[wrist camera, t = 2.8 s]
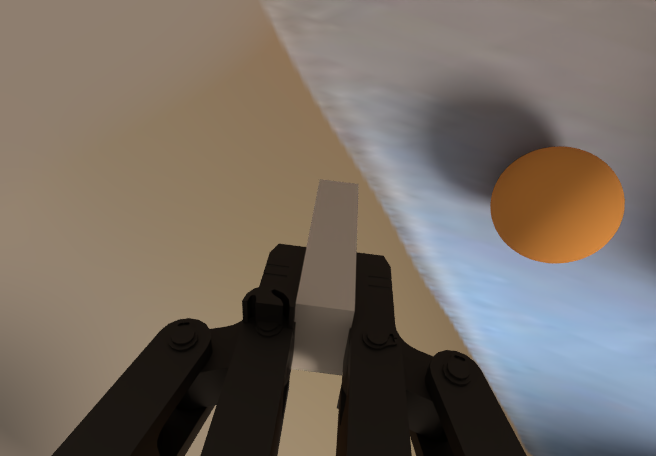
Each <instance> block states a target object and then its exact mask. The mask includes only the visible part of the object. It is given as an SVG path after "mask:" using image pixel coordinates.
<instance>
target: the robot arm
mask: <svg viewBox="0 0 656 456" xmlns="http://www.w3.org/2000/svg"><path fill="white" fill-rule="evenodd" d="M357 214H358V184H353V183H344V182H336V181H329V180H320V182H319V186H318V192H317V197H316V202H315V207H314V213H313V217H312V222H311V227H310V233H309V238H308V243H307V247H301V246H293V245H285V244H278V245H277V246H276V247H275V248H274V249H273V250H272V251H271V252H270V254H269V257H268V260H267V264H266V267H265V270H264V274H263V276H262V279H261V283H260V286H259V287H258V288H255V289H253V290H251V291H250V292H248V293H247V294H246V296H245V297H244V299H243V301H242V306H243V320H242V321H240V322H239V323H236V324H234V325H231V326H227V327H221V328H214V329H209V328H208V327H207V325H206V324H205V323H203V322H201V321H200V320H196V319H190V318H187V319H180V320H177V321H174V322H172V323H170V324H168V325H167V326H165V327H164V328H163V329H162V330H161V331H160V332H159V333H158V334H157V335H156V336H155V338H154V339H153V340H152V341H151V342H150V343H149V345H148V346H147V347H146V348H145V349H144V350H143V351H142V352H141V354H140V355H139V356H138V357H137V358H136V359H135V360H134V362H133V363H132V364H131V365H130V366H129V367H128V368H127V370H126V371H125V372H124V373H123V374H122V375H121V377H120V378H119V379H118V380H117V381H116V382H115V384H114V385H113V386H112V387H111V388H110V389H109V390H108V391H107V393H106V394H105V395H104V396H103V397H102V398H101V400H100V401H99V402H98V403H97V404H96V405H95V406H94V408H93V409H92V410H91V411H90V412H89V413H88V414H87V416H86V417H85V418H84V419H83V420H82V422H80V424H79V425H78V426H77V427H76V428H75V429H74V431H73V432H72V433H71V434H70V435H69V436H68V437H67V439H66V440H65V441H64V442H63V443H62V444H61V446H60V447H59V448H58V449H57V450H56V451H55V452H54V453H53V455H52V456H185V454H186V453H187V451H188V449H189V448H190V446H191V444H192V443H193V441H194V439H195V438H196V436H197V434H198V433H199V431H200V429H201V428H202V426H203V424H204V422H205V421H206V419H207V418H208V416H209V415H210V413H211V411H212V410H213V408H214V406H215V405H217V406H216V409H215V412H214V415H213V418H212V421H211V425H210V428H209V431H208V434H207V437H206V440H205V443H204V446H203V450H202V453H201V456H277V454H278V448H279V443H280V436H281V431H282V425H283V419H284V413H285V407H286V401H287V396H288V390H289V378H290V372H291V369H296V370H304V371H311V372H320V373H328V374H335V375H342V385H341V390H340V395H339V400H338V405H337V408H338V409H339V414H338V431H337V448H336V456H412V455H411V444H410V437H411V440H412V444H413V447H414V450H415V453H416V456H526V454H525V452H524V450H523V448H522V446H521V444H520V442H519V440H518V439H517V437H516V435H515V433H514V431H513V429H512V427H511V425H510V424H509V422H508V420H507V418H506V416H505V414H504V412H503V411H502V409H501V407H500V405H499V403H498V401H497V399H496V397H495V395H494V393H493V392H492V390H491V388H490V386H489V384H488V382H487V380H486V378H485V377H484V375H483V373H482V371H481V369H480V368H479V367H478V365H477V364H476V363H475V362H474V361H473V360H472V359H470V358H469V357H468V356H466V355H465V354H462V353H460V352H457V351H450V350H445V351H442V352H438V353H437V354H436V355H435V356H431V355H428V354H426V353H423V352H421V351H418V350H416V349H415V348H413V347H411V346H409V345H408V344H407V343H406V342H404V341H403V339H402V338H401V337H400V336H399V334H398V332H397V331H396V327H395V317H394V304H393V292H392V281H391V267H390V266H389V264H388V262H387V261H386V259H385V257H384V256H380V255H372V254H365V253H357V252H356V249H357V247H356V246H357ZM342 372H343V373H342Z"/></svg>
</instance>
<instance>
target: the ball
mask: <svg viewBox="0 0 656 456" xmlns="http://www.w3.org/2000/svg"><path fill="white" fill-rule="evenodd" d="M624 204H625V199H624V193H623V189H622V186H621V183H620V181H619V179H618V177H617V176H616V174H615V173H614V171H613V170H612V169H611V168H610V167H609V166H608V165H607V164H606V163H605V162H604V161H602V160H601V159H600V158H598V157H597V156H595V155H593V154H591V153H589V152H586V151H583V150H580V149H576V148H571V147H561V146H559V147H548V148H542V149H538V150H535V151H532V152H530V153H527V154H525V155H523V156H522V157H520V158H518V159H517V160H515V161H514V162H513V163H512V164H510V165H509V166H508V167H507V168H506V169H505V170H504V172H503V173H502V174H501V176H500V177H499V179H498V181H497V182H496V184H495V187H494V189H493V192H492V197H491V217H492V221H493V224H494V226H495V229H496V230H497V232H498V234H499V236H500V237H501V238H502V240H503V241H504V242H505V243H506V244H507V245H508V246H509V247H510V248H511V249H513V250H514V251H516V252H517V253H519V254H520V255H522V256H525V257H527V258H529V259H532V260H535V261H540V262H545V263H567V262H572V261H576V260H580V259H583V258H585V257H587V256H589V255H592V254H593V253H595V252H597V251H598V250H599V249H601V248H602V247H603V246H604V245H606V244H607V243H608V242H609V240H610V239H611V238H612V237H613V236H614V234H615V233H616V232H617V230H618V228H619V226H620V223H621V221H622V218H623V214H624Z"/></svg>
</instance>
